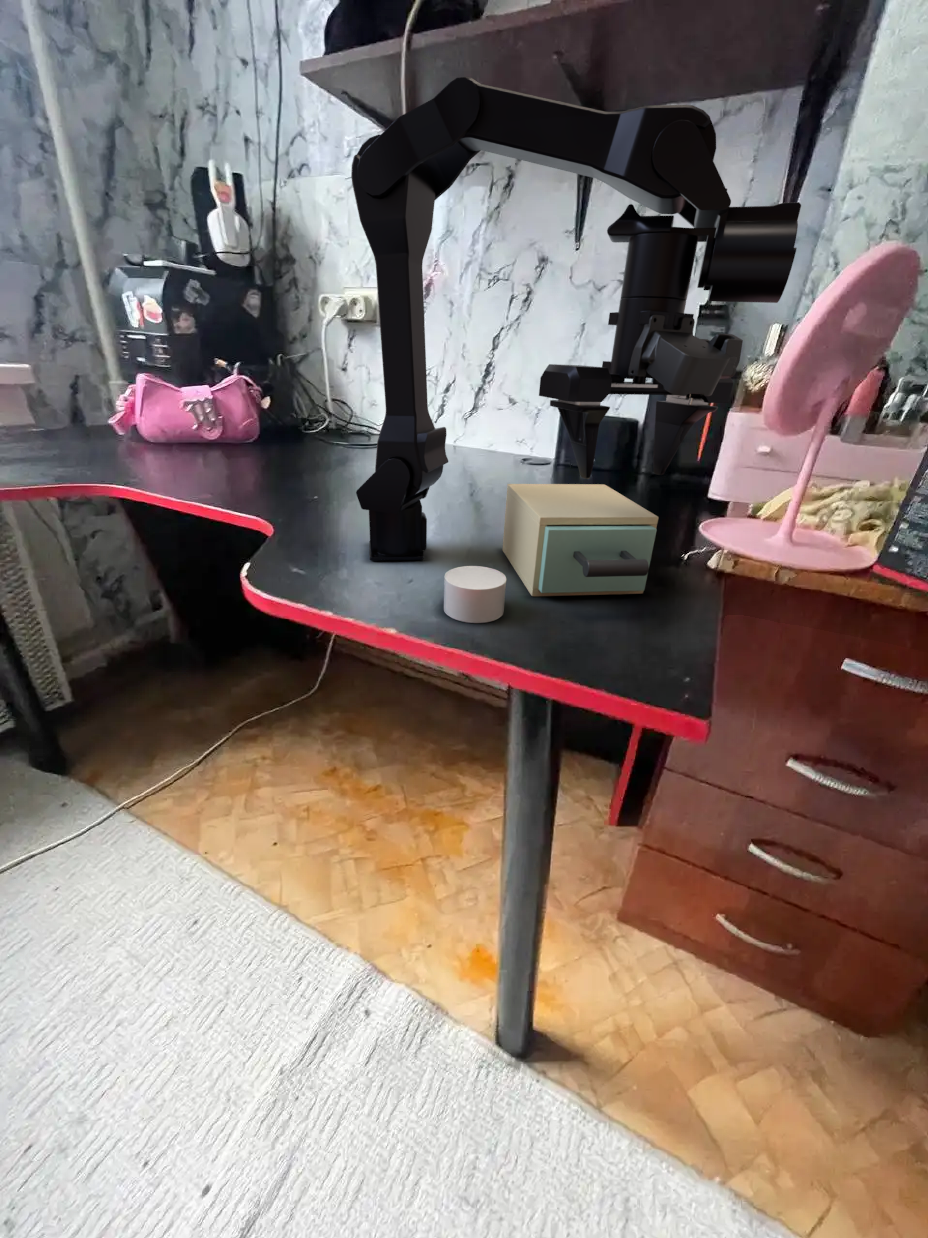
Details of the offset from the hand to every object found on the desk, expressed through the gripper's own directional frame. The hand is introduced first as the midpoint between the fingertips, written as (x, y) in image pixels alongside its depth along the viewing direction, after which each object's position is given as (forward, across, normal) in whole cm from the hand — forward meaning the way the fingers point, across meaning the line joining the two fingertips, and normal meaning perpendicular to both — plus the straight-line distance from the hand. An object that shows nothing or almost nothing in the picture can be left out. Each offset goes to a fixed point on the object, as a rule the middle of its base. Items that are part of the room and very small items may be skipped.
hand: (622, 476), depth 56 cm
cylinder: (+12, -17, -1) cm, 21 cm away
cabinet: (+12, -2, +5) cm, 13 cm away
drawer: (+11, -3, +1) cm, 12 cm away
